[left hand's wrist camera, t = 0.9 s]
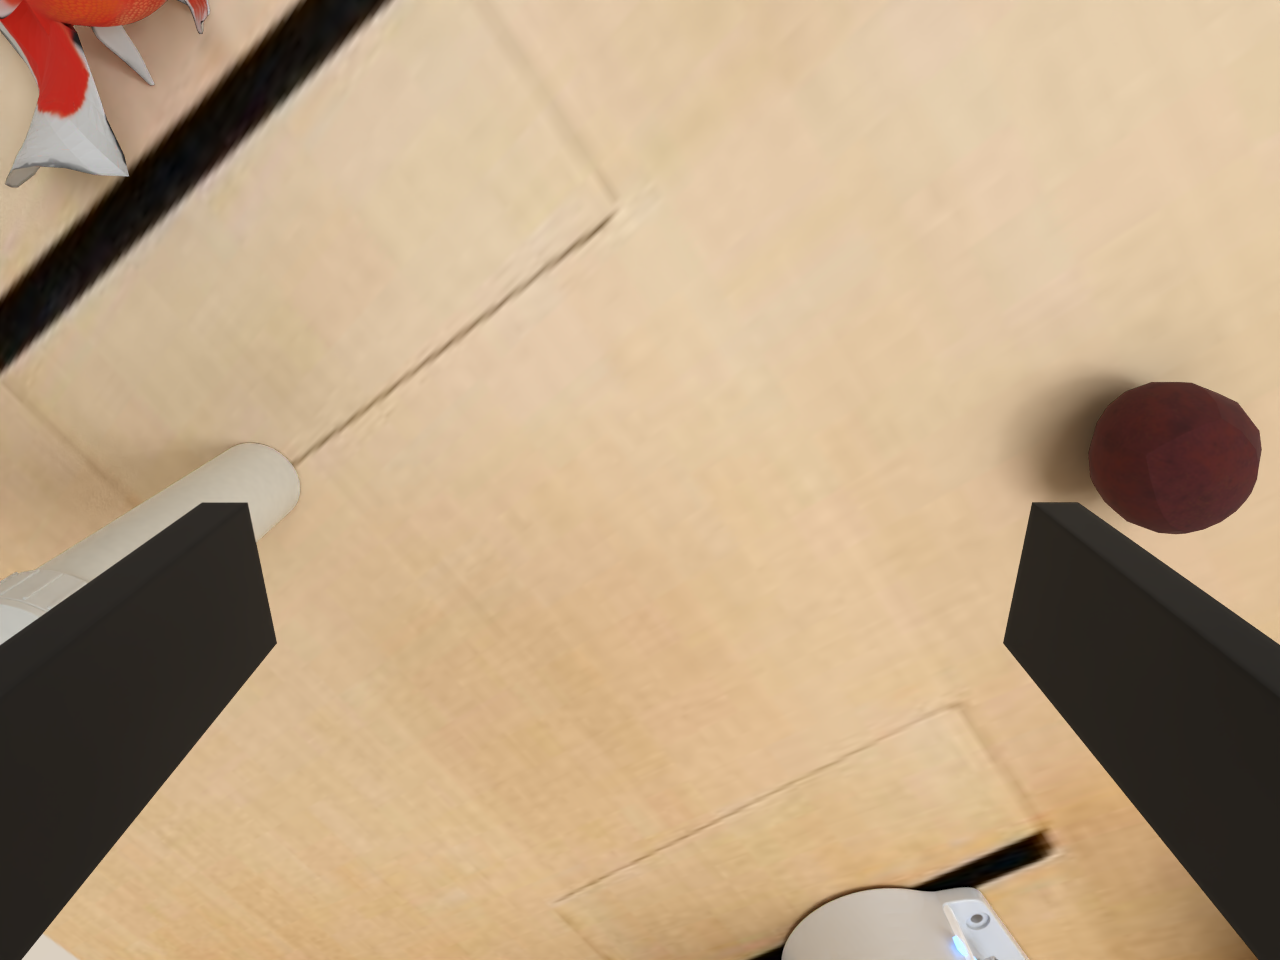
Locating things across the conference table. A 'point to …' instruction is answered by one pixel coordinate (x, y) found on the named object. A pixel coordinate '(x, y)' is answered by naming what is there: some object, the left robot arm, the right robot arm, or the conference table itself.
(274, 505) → the white bottle
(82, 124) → the fish
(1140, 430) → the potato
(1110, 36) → the conference table surface
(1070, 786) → the conference table surface
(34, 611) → the lid
